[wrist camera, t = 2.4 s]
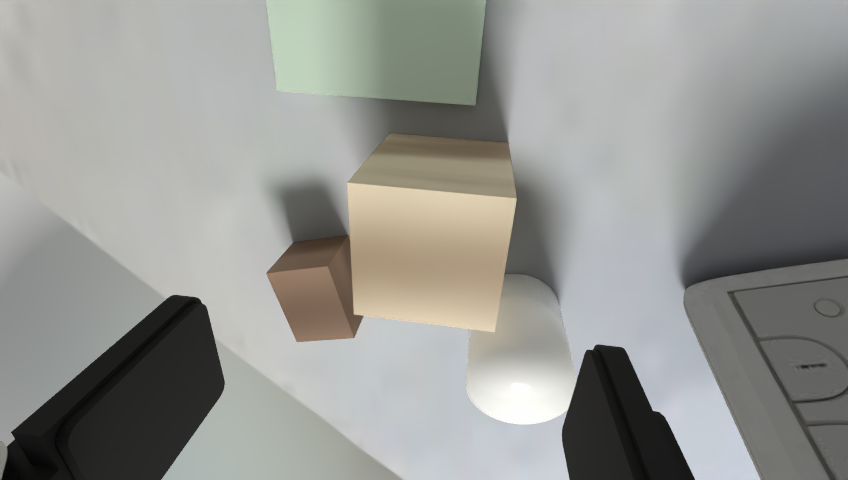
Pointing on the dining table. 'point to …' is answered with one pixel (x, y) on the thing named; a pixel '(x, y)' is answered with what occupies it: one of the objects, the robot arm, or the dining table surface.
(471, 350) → the white capsule
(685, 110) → the dining table surface
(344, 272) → the walnut box
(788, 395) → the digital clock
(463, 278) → the beech block
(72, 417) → the robot arm
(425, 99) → the felt pad
